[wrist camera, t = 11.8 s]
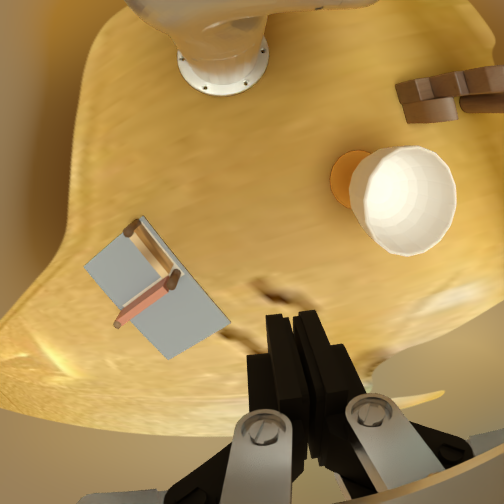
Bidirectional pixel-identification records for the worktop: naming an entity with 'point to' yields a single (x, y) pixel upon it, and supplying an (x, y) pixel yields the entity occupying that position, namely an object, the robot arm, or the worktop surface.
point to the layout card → (164, 309)
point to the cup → (397, 196)
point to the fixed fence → (152, 252)
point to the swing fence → (142, 302)
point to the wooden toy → (452, 94)
